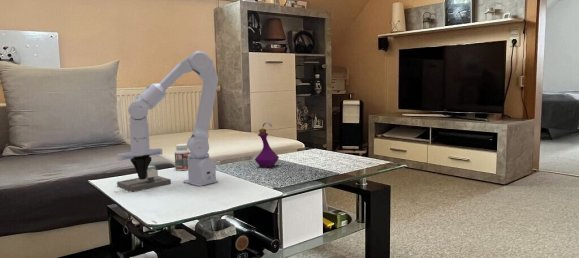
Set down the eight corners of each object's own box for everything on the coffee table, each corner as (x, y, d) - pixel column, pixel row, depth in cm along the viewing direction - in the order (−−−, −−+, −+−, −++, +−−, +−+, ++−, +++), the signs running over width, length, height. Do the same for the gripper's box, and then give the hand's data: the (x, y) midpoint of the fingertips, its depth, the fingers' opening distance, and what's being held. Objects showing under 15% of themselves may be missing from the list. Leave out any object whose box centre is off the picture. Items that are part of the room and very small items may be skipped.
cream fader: (158, 179, 140) (157, 169, 140) (148, 181, 138) (147, 171, 137) (153, 178, 142) (153, 168, 142) (143, 180, 140) (143, 170, 139)
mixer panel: (170, 183, 142) (170, 179, 142) (132, 191, 132) (132, 186, 132) (154, 178, 150) (154, 174, 149) (117, 186, 140) (117, 181, 140)
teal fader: (155, 175, 147) (155, 166, 146) (146, 177, 144) (145, 167, 144) (151, 174, 149) (151, 165, 148) (142, 176, 146) (141, 166, 146)
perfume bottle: (254, 167, 166) (253, 122, 164) (262, 164, 173) (261, 120, 171) (271, 168, 164) (270, 123, 162) (279, 165, 170) (278, 121, 168)
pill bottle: (186, 171, 162) (185, 145, 161) (172, 170, 163) (171, 145, 162) (192, 168, 168) (191, 143, 167) (179, 167, 169) (178, 143, 168)
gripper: (154, 134, 144) (156, 173, 146) (112, 139, 134) (114, 181, 135) (164, 136, 139) (166, 176, 141) (122, 141, 129) (124, 184, 130)
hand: (142, 179), depth 138 cm, fingers closed
